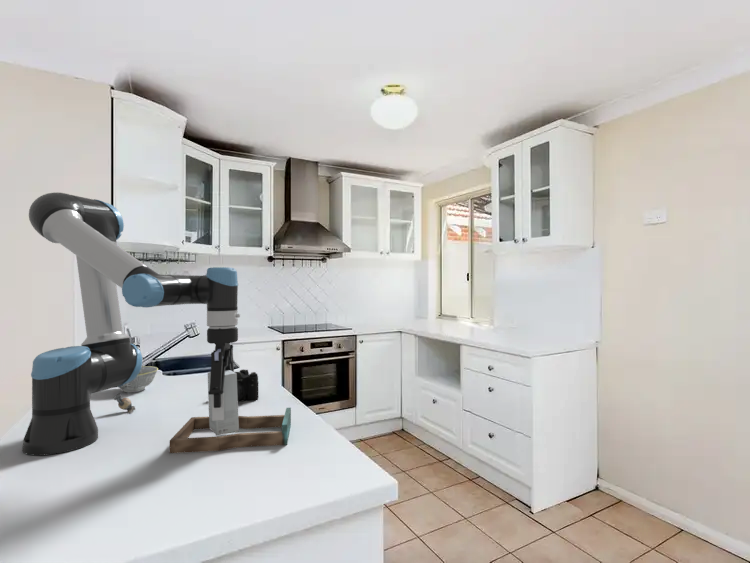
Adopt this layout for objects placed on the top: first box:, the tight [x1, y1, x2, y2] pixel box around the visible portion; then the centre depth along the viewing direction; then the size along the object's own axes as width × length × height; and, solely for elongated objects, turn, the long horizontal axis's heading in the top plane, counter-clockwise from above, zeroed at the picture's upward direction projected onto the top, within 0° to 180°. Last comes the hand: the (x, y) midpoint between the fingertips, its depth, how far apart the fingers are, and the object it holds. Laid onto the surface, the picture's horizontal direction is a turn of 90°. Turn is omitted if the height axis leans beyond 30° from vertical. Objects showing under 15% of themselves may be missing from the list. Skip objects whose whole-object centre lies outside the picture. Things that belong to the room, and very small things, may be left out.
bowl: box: [118, 365, 159, 393], centre depth 158 cm, size 16×16×8 cm
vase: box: [113, 393, 136, 415], centre depth 131 cm, size 5×5×6 cm
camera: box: [234, 369, 259, 402], centre depth 143 cm, size 14×11×10 cm
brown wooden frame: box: [169, 407, 292, 454], centre depth 109 cm, size 27×17×5 cm, turn 98°
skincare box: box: [207, 370, 240, 436], centre depth 109 cm, size 8×6×15 cm
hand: (223, 413), depth 109 cm, fingers closed on skincare box, 9 cm apart
